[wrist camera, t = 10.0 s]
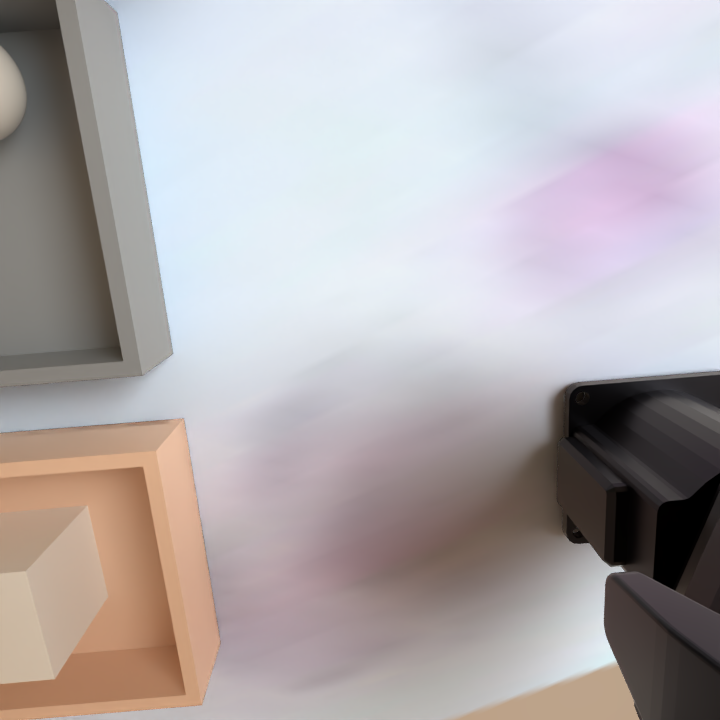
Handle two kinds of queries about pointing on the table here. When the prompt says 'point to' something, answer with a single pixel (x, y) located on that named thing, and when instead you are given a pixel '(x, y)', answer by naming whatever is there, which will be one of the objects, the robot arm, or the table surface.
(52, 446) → the bin
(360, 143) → the table surface
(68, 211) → the bin
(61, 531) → the beige cube
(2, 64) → the cream glossy ball
